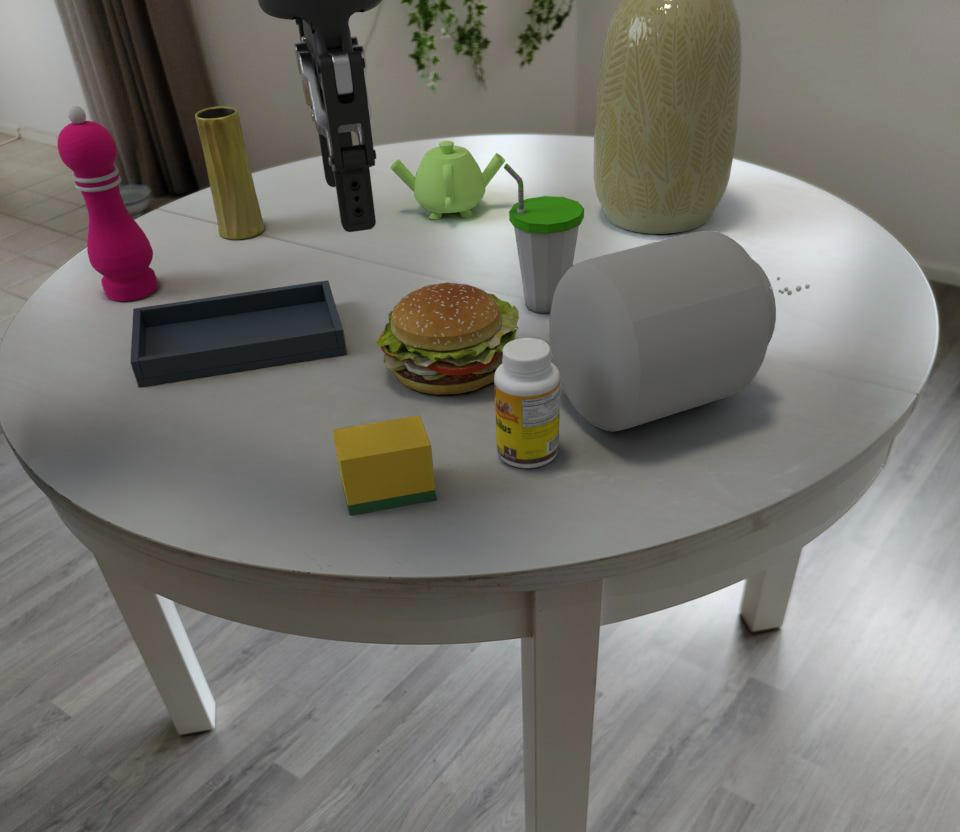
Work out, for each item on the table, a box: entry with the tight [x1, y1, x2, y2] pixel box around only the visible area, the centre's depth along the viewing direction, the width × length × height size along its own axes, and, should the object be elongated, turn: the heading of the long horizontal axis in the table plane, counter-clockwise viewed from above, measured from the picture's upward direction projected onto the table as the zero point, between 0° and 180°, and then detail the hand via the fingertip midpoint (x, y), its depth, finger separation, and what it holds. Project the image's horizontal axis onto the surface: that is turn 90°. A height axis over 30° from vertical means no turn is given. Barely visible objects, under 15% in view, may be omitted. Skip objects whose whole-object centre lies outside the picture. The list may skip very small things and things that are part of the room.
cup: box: [503, 162, 585, 315], centre depth 100 cm, size 8×8×15 cm
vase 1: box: [194, 105, 266, 241], centre depth 119 cm, size 6×6×14 cm
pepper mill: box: [56, 105, 159, 302], centre depth 106 cm, size 7×7×20 cm
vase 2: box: [593, 0, 743, 235], centre depth 112 cm, size 17×17×27 cm
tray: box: [130, 279, 348, 388], centre depth 101 cm, size 22×13×3 cm, turn 104°
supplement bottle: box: [493, 337, 561, 469], centre depth 81 cm, size 6×6×10 cm
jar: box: [548, 230, 811, 432], centre depth 85 cm, size 19×15×25 cm
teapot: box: [390, 140, 506, 220], centre depth 123 cm, size 11×12×8 cm
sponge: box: [332, 414, 437, 516], centre depth 79 cm, size 8×5×6 cm, turn 104°
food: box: [375, 282, 520, 396], centre depth 93 cm, size 14×14×8 cm
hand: (350, 205), depth 64 cm, fingers open, 8 cm apart
